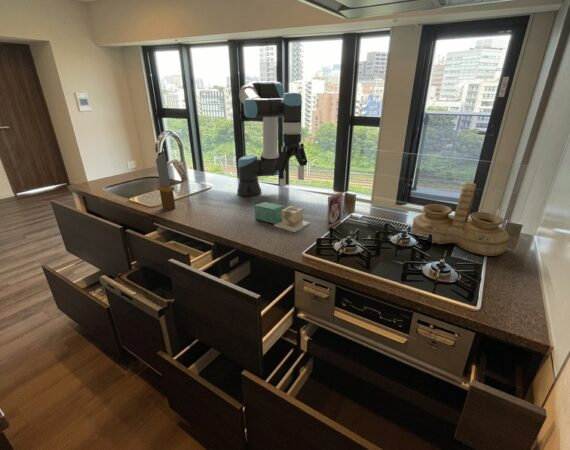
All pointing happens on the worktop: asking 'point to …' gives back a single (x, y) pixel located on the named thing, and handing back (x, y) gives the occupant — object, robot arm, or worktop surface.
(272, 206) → the box
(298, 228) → the tile
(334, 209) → the greeting card
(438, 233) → the ceramic vessel
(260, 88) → the robot arm
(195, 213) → the worktop surface
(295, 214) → the letter cube
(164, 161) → the knife
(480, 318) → the worktop surface
